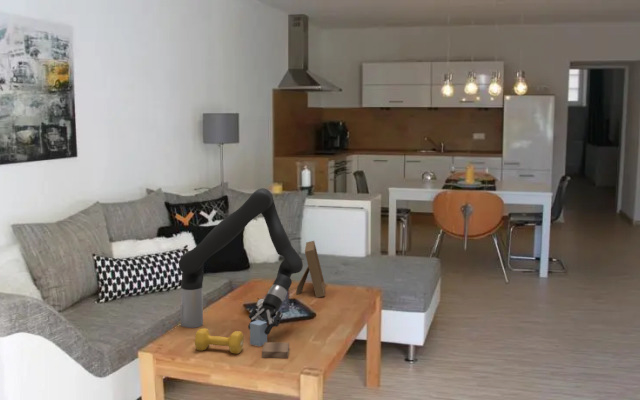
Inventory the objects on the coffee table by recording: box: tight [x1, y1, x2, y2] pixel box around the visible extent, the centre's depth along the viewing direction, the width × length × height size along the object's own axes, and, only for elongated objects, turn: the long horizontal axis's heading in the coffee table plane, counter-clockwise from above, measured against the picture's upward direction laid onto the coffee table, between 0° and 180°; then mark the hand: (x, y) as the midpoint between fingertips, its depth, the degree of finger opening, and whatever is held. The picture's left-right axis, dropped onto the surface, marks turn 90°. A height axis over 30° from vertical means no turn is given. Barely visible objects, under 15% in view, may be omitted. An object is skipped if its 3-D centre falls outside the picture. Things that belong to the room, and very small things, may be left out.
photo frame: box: [295, 240, 326, 299], centre depth 348 cm, size 15×22×25 cm
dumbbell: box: [194, 327, 245, 355], centre depth 267 cm, size 19×9×8 cm, turn 78°
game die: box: [255, 297, 265, 308], centre depth 311 cm, size 9×8×10 cm
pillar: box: [249, 319, 268, 347], centre depth 274 cm, size 5×5×9 cm
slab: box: [261, 341, 290, 359], centre depth 265 cm, size 10×10×3 cm
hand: (257, 331), depth 274 cm, fingers open, 8 cm apart
